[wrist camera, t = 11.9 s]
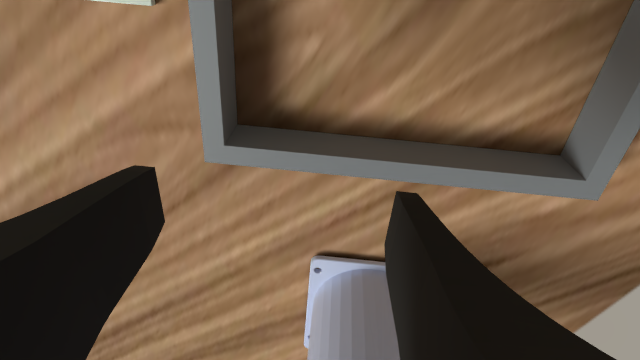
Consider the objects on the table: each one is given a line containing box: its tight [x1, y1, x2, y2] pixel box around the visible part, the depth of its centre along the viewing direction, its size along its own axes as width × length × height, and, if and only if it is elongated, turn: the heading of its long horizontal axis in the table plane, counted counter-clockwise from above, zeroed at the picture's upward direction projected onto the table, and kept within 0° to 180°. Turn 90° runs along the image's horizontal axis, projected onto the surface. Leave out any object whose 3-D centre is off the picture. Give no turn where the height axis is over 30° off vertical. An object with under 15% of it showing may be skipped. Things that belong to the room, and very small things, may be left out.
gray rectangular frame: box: [188, 0, 640, 201], centre depth 15 cm, size 13×19×2 cm
